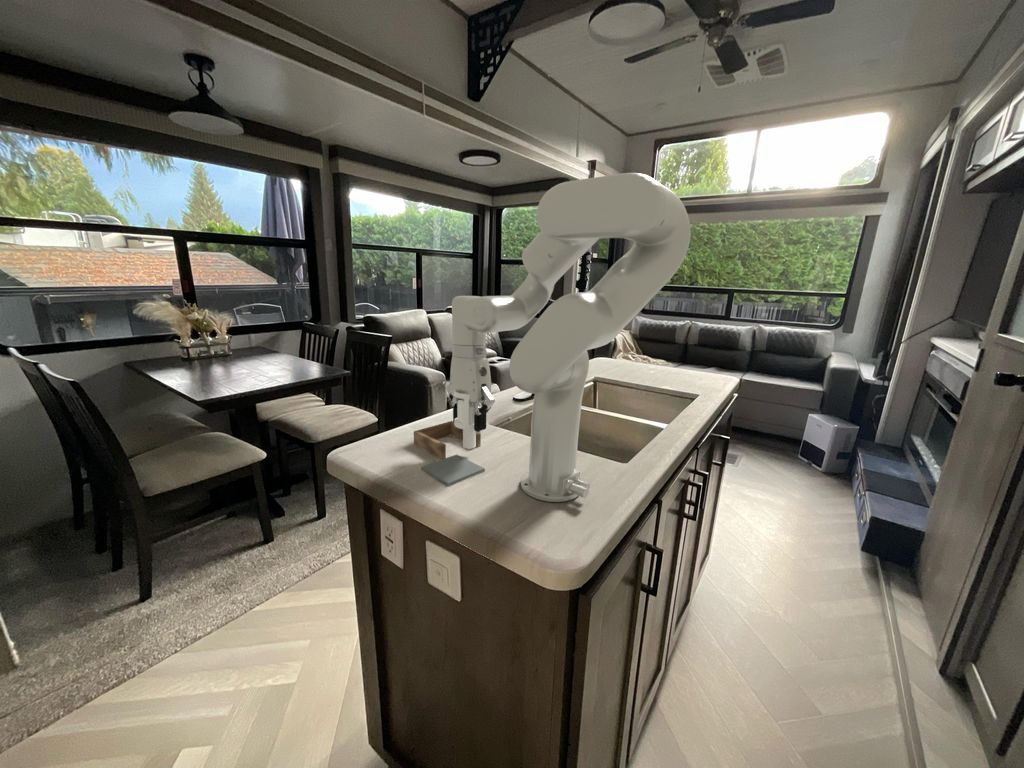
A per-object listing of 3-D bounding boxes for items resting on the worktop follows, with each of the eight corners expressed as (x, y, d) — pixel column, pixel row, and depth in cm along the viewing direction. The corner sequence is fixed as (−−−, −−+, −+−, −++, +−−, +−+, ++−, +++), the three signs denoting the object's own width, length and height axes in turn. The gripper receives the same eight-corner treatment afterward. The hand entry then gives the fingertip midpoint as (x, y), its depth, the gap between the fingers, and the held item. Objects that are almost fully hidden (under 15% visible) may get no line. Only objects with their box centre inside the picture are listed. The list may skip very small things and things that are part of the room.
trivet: (484, 471, 89) (484, 468, 89) (448, 485, 82) (448, 483, 82) (456, 456, 96) (456, 454, 96) (421, 469, 89) (421, 466, 89)
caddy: (480, 446, 103) (480, 433, 102) (442, 459, 94) (442, 445, 93) (451, 432, 111) (451, 421, 110) (413, 444, 102) (413, 431, 101)
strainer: (481, 452, 92) (482, 389, 89) (451, 451, 93) (450, 388, 89) (485, 441, 99) (486, 382, 96) (457, 440, 100) (457, 381, 96)
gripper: (508, 354, 87) (506, 431, 92) (458, 345, 99) (458, 414, 103) (482, 358, 82) (482, 439, 86) (432, 348, 94) (434, 420, 98)
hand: (469, 425), depth 95 cm, fingers closed on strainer, 7 cm apart
